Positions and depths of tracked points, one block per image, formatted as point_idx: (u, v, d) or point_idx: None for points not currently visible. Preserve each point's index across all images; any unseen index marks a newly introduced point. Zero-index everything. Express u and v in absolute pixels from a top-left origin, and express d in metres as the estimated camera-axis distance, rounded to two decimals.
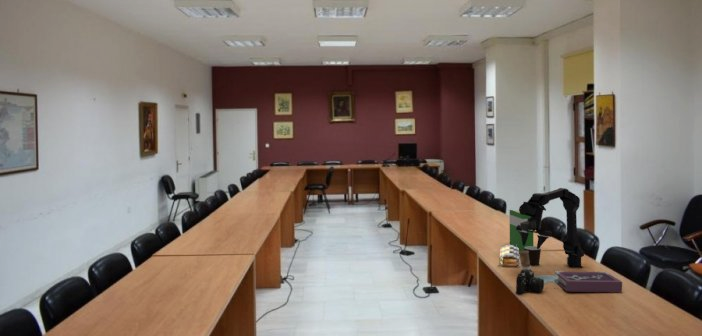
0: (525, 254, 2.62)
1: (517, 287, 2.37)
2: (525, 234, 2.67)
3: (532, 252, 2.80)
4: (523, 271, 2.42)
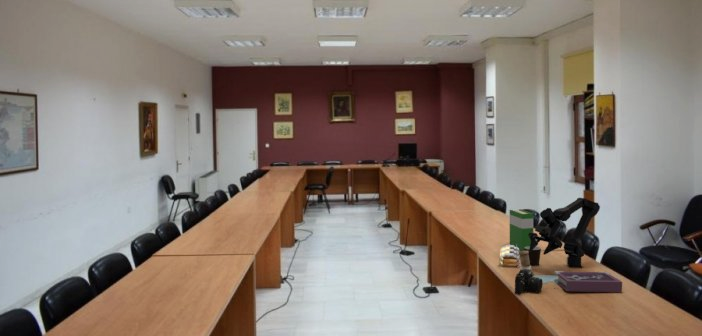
0: (525, 254, 2.61)
1: (516, 287, 2.37)
2: (535, 242, 2.72)
3: (532, 252, 2.80)
4: (522, 271, 2.42)
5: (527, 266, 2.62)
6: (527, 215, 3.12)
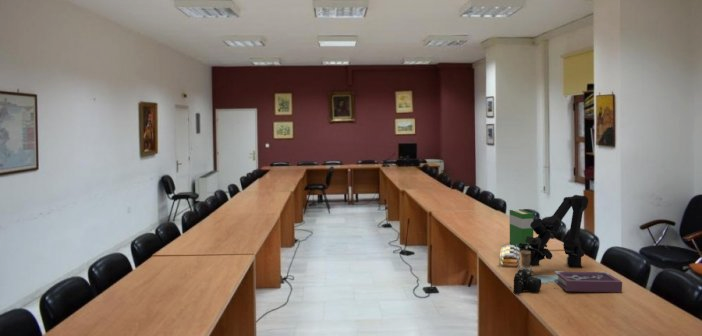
0: (527, 255, 2.60)
1: (514, 287, 2.38)
2: None
3: (532, 252, 2.80)
4: (520, 271, 2.42)
5: (528, 266, 2.61)
6: (527, 215, 3.12)
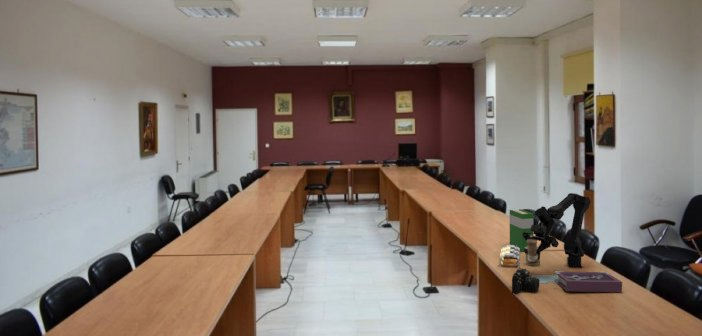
0: (534, 244, 2.56)
1: (513, 286, 2.38)
2: None
3: None
4: (519, 270, 2.43)
5: (534, 255, 2.58)
6: (527, 215, 3.12)
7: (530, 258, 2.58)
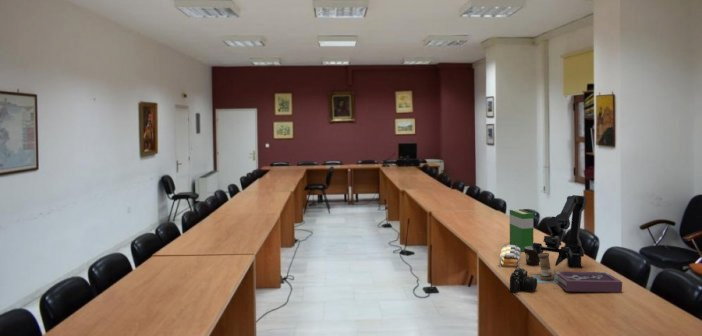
0: (547, 256, 2.53)
1: (510, 286, 2.38)
2: None
3: (532, 252, 2.80)
4: (516, 270, 2.43)
5: (549, 268, 2.53)
6: (527, 215, 3.12)
7: (545, 272, 2.53)
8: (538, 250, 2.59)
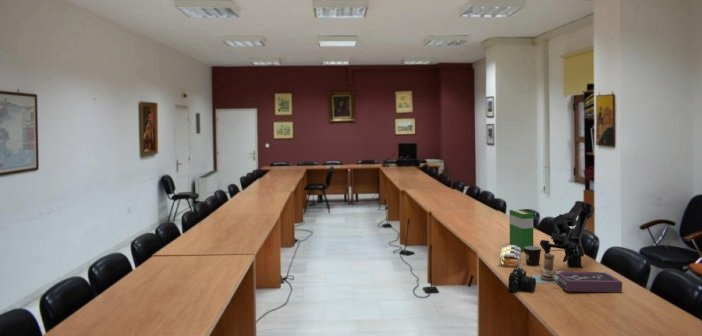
0: (552, 257, 2.52)
1: (509, 286, 2.39)
2: (548, 249, 2.67)
3: (532, 252, 2.80)
4: (515, 270, 2.44)
5: (551, 270, 2.53)
6: (527, 215, 3.12)
7: (547, 272, 2.53)
8: (545, 247, 2.66)
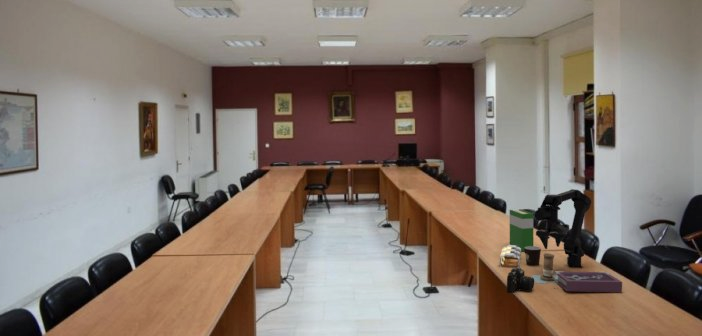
0: (552, 257, 2.52)
1: (508, 286, 2.39)
2: None
3: (532, 252, 2.80)
4: (514, 270, 2.44)
5: (551, 270, 2.53)
6: (527, 215, 3.12)
7: (547, 273, 2.53)
8: (547, 238, 2.65)
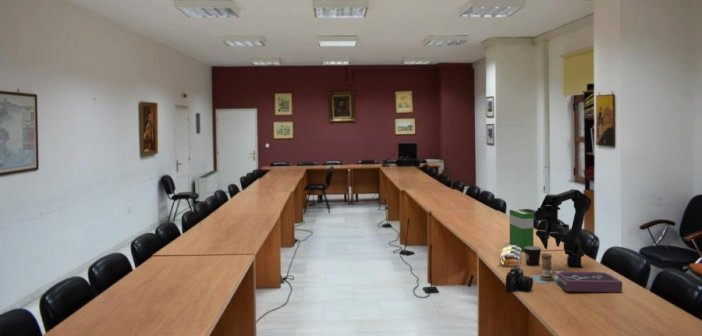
0: (550, 257, 2.52)
1: (506, 286, 2.39)
2: None
3: (532, 252, 2.80)
4: (512, 270, 2.44)
5: (550, 269, 2.53)
6: (527, 215, 3.12)
7: (546, 273, 2.53)
8: (547, 238, 2.65)
